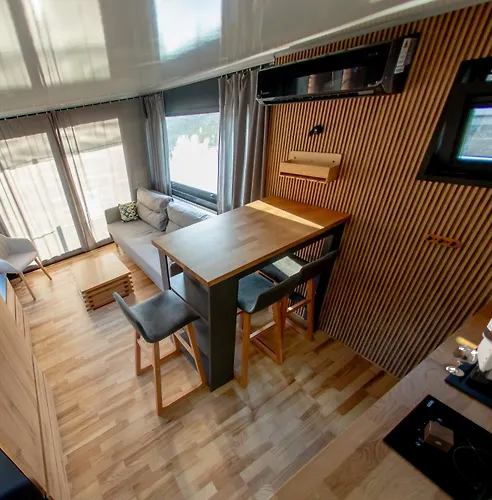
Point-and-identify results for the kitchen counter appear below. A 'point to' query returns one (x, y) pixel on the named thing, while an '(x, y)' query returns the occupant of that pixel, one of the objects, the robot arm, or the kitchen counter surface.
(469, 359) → the wineglass
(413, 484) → the kitchen counter surface
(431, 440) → the die
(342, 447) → the kitchen counter surface
